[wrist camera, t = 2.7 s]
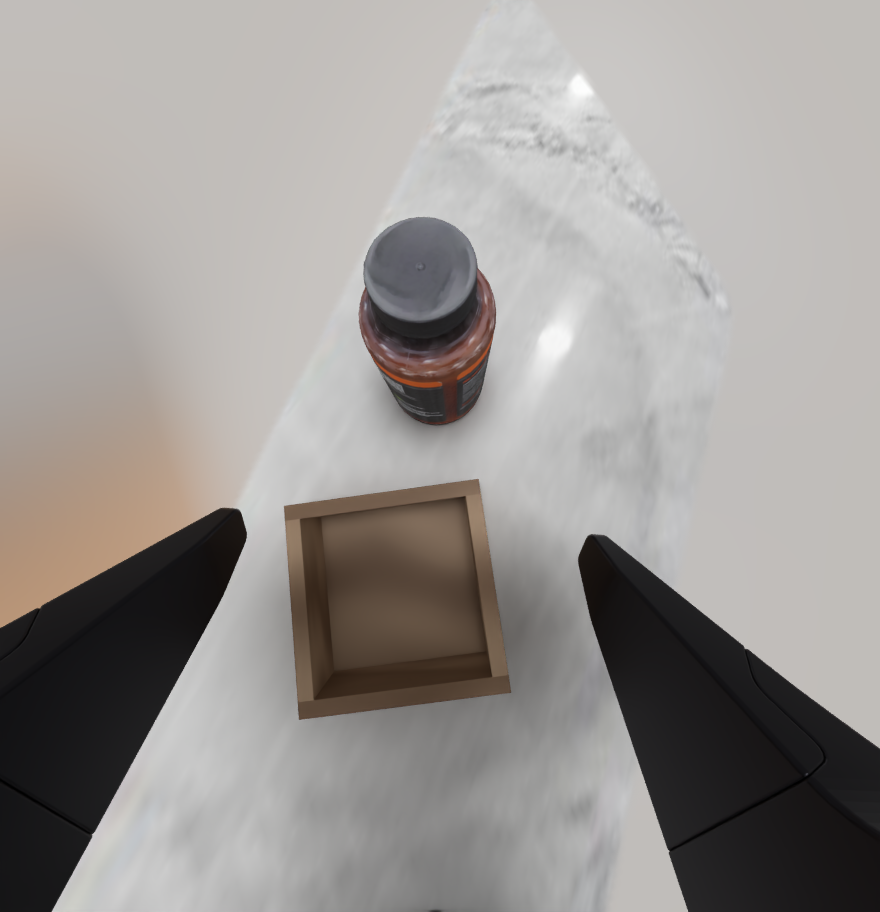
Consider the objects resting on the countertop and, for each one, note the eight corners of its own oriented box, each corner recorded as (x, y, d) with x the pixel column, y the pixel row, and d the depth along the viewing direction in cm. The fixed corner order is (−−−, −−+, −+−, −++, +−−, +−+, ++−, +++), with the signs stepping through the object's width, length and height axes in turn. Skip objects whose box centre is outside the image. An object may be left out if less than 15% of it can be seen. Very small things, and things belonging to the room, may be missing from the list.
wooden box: (501, 660, 20) (511, 692, 17) (325, 683, 20) (299, 719, 17) (474, 482, 22) (478, 478, 18) (310, 505, 22) (283, 506, 18)
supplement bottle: (486, 345, 23) (518, 194, 12) (477, 431, 22) (502, 357, 11) (398, 337, 23) (349, 183, 12) (387, 421, 23) (322, 340, 11)
